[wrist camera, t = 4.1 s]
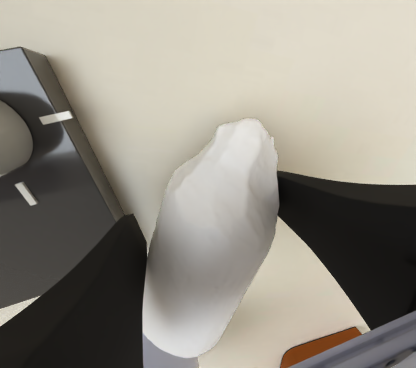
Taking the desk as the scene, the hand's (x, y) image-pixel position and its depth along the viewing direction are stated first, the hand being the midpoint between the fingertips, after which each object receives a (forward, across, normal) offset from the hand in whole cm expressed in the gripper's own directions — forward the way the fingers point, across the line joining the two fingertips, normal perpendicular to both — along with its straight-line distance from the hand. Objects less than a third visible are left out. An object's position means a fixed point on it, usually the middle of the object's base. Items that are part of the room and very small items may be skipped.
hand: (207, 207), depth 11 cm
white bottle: (+2, 0, +1) cm, 2 cm away
